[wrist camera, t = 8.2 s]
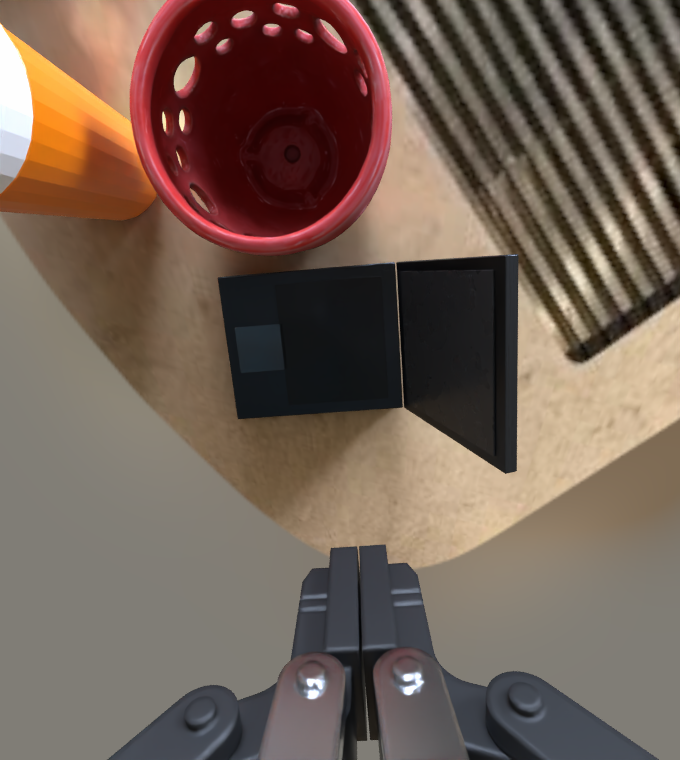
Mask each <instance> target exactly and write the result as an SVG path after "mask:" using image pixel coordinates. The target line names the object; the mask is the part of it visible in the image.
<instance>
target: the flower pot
mask: <svg viewBox="0 0 680 760" xmlns="http://www.w3.org/2000/svg"><path fill="white" fill-rule="evenodd" d="M278 3H282V4H286V5H291V6H294V7H293V8H291V7H286V6H283V5H280V4H278ZM244 10H248V11H252V12H254V13H253V14H252V15H251V16H249V17H246V18H243V19H233V16H234V15H236V14H237V13H238V12H241V11H244ZM320 19H322V20H325V21H326V22H328V23H329V24H330V25H331V26H332V27H333V28H334V29H335V30H336V31H337V33H338V34H339V35H340V37H341V38H342V40H343V42H344V44H342V43H341V42H340V41H338V40H337V39H336V38H335V37H334V36H333V35H332V34H331V33H330V32H329V31H328V30H327V29H326V27H325V26H324V25H323V23H322V22H321V20H320ZM207 22H211V24H210V26H209V27H208V28H207V29H206V30H205V31H204V32H203V33H201V34H199V35H196V36H195V34H196V33H197V31H198V29H200V28H201V27H202V26H203V25H204V24H205V23H207ZM266 24H277V25H279V27H276V28H269V27H266V26H264V25H266ZM299 29H301V30H304V31H306V32H308V33H309V34H311V35H309V34H306V33H304V32H302V31H300V30H299ZM228 38H229V39H228ZM224 39H228V41H227V42H226V43H225V44H223V45H221V46H218V47H216V46H217V44H218V43H219V42H220V41H222V40H224ZM193 56H194V58H195V67H194V70H193V74H192V76H191V78H190V80H189V81H188V83H187V84H186V85H185V87H184V88H183V89H181V90H180V91H178V92H176V91H175V89H174V75H175V72H176V70H177V68H178V66H179V65H180V64H181V63H182V62H183V61H184V60H186V59H188V58H190V57H193ZM181 110H183V112H184V115H185V126H184V130H183V131H181V128H180V126H179V114H180V111H181ZM162 112H164V114H165V117H166V131H164V129H163V123H162ZM130 115H131V124H132V131H133V137H134V141H135V145H136V149H137V153H138V155H139V158H140V161H141V164H142V166H143V168H144V171H145V173H146V175H147V177H148V179H149V181H150V183H151V184H152V186H153V188H154V190H155V191H156V193H157V194H158V196H159V197H160V199H161V200H162V201H163V203H164V204H165V205H166V206H167V207H168V209H169V210H170V211H171V212H172V213H173V214H174V215H175V216H176V217H177V218H178V219H179V220H180V221H181V222H182V223H183V224H184V225H185V226H187V227H188V228H189V229H190V230H192V231H193V232H194V233H196V234H197V235H199V236H201V237H202V238H204V239H206V240H208V241H210V242H212V243H214V244H216V245H219V246H221V247H224V248H227V249H230V250H234V251H237V252H242V253H247V254H254V255H262V256H280V255H288V254H294V253H298V252H301V251H305V250H309V249H312V248H316V247H319V246H321V245H323V244H326V243H328V242H329V241H331V240H333V239H335V238H336V237H338V236H339V235H340V234H342V233H343V232H344V231H345V230H347V229H348V228H349V227H350V226H351V225H352V224H353V223H354V222H355V221H356V220H357V219H358V218H359V216H360V215H361V214H362V213H363V212H364V210H365V209H366V207H367V206H368V204H369V203H370V201H371V199H372V197H373V195H374V194H375V192H376V190H377V188H378V185H379V183H380V181H381V178H382V175H383V173H384V170H385V166H386V163H387V159H388V154H389V150H390V143H391V131H392V104H391V94H390V86H389V80H388V74H387V71H386V67H385V63H384V60H383V57H382V54H381V51H380V49H379V46H378V44H377V42H376V40H375V38H374V35H373V33H372V32H371V30H370V28H369V26H368V25H367V23H366V22H365V21H364V19H363V18H362V16H361V15H360V14H359V12H358V11H357V10H356V8H355V7H354V6H353V5H352V4H351V3H350V2H349V1H348V0H167V1H166V2H165V4H164V5H163V6H162V7H161V8H160V10H159V11H158V13H157V14H156V15H155V17H154V19H153V20H152V22H151V24H150V25H149V27H148V29H147V31H146V33H145V35H144V37H143V39H142V42H141V44H140V47H139V49H138V52H137V56H136V59H135V63H134V67H133V72H132V78H131V85H130ZM176 151H177V152H178V154H179V156H180V160H181V164H182V167H181V166H180V164H179V161H178V157H177V153H176ZM190 188H191V189H192V190H194V191H195V192H196V193H197V194H198V196H199V197H200V198H201V200H202V201H203V202H204V203H205V205H206V207H207V208H208V210H209V212H210V213H209V212H207V211H206V210H204V209H203V208H202V207H201V206H200V205H199V204H198V203H197V202H196V200H195V198H194V197H193V196H192V193H191V191H190Z"/></svg>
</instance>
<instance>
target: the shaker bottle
mask: <svg viewBox="0 0 680 760" xmlns="http://www.w3.org/2000/svg"><path fill="white" fill-rule="evenodd" d="M156 195H157V193H156V191H155V190H154V188H153V186H152V184H151V183H150V181H149V179H148V177H147V175H146V173H145V171H144V168H143V166H142V164H141V161H140V158H139V155H138V153H137V149H136V145H135V141H134V137H133V131H132V124H131V122H130V121H128V120H127V119H126V118H124V117H123V116H122V115H120V114H119V113H118V112H116V111H115V110H114V109H112V108H111V107H110V106H108V105H107V104H106V103H104V102H103V101H102V100H100V99H99V98H98V97H96V96H95V95H94V94H92V93H91V92H90V91H88V90H87V89H86V88H84V87H83V86H82V85H80V84H79V83H78V82H76V81H75V80H74V79H72V78H71V77H69V76H68V75H67V74H65V73H64V72H63V71H61V70H60V69H59V68H57V67H56V66H55V65H53V64H52V63H51V62H49V61H48V60H47V59H45V58H44V57H43V56H41V55H40V54H39V53H37V52H36V51H35V50H33V49H32V48H31V47H29V46H28V45H27V44H25V43H24V42H23V41H21V40H20V39H19V38H17V37H16V36H15V35H13V34H12V33H11V32H9V31H8V30H7V29H5V28H4V27H3V26H2V24H1V23H0V212H13V213H26V214H39V215H53V216H66V217H79V218H92V219H105V220H119V221H120V220H127V219H131V218H134V217H136V216H138V215H140V214H141V213H143V212H144V211H145V210H146V209H147V208H148V207H149V206H150V205H151V204H152V202H153V201H154V199H155V198H156Z"/></svg>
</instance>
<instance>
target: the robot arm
mask: <svg viewBox="0 0 680 760" xmlns="http://www.w3.org/2000/svg"><path fill="white" fill-rule="evenodd" d="M359 554H360V572H359V560H358V549H357V546H356V547H340V548H331V551H330V565H329V568H316V569H312V570H311V571H310V573H309V574H308V575H307V577H306V578H305V579H304V581H303V582H302V590H301V596H300V603H299V609H298V610H299V612H298V615H297V622H296V629H295V636H294V642H293V649H292V655H291V660H290V661H289V662H288V663H287V664H286V665H285V666H284V668H283V669H282V671H281V672H280V675H279V677H278V681H277V683H275V684H274V685H273V686H271V687H270V688H268V689H266V690H265V691H262V692H260V693H258V694H255V695H252V696H249V697H246V698H243V699H241V700H238V701H237V698H236V696H235V695H234V693H232V691H231V690H229V689H227V688H226V687H222V686H218V685H210V686H204V687H200V688H198V689H195V690H193V691H191V692H189V693H187V694H186V695H185V696H183V697H182V698H181V699H179V700H178V701H177V702H176V703H175V704H173V705H172V706H171V707H170V708H169V709H168V710H166V711H165V712H164V713H163V714H161V715H160V716H159V717H158V718H157V719H156V720H154V721H153V722H152V723H151V724H150V725H148V726H147V727H146V728H145V729H144V730H143V731H141V732H140V733H139V734H138V735H136V736H135V737H134V738H133V739H132V740H130V741H129V742H128V743H127V744H126V745H124V746H123V747H122V748H121V749H120V750H119V751H117V752H116V753H115V754H114V755H113V756H111V757H110V758H109V759H108V760H357V741H367V721H366V697H367V708H368V718H369V719H368V720H369V731H370V740H379V753H380V760H659V759H657V758H656V757H654V756H653V755H651V754H650V753H649V752H647V751H646V750H644V749H643V748H641V747H640V746H638V745H637V744H635V743H634V742H633V741H631V740H630V739H628V738H627V737H625V736H624V735H623V734H621V733H620V732H618V731H617V730H615V729H614V728H612V727H611V726H609V725H608V724H607V723H605V722H604V721H602V720H601V719H599V718H598V717H596V716H595V715H594V714H592V713H591V712H589V711H588V710H586V709H585V708H583V707H582V706H580V705H579V704H578V703H576V702H575V701H573V700H572V699H570V698H569V697H567V696H566V695H564V694H563V693H561V692H560V691H559V690H557V689H556V688H554V687H553V686H551V685H550V684H548V683H547V682H545V681H544V680H542V679H541V678H539V677H537V676H534V675H531V674H528V673H524V672H517V671H515V672H514V671H513V672H506V673H502V674H500V675H498V676H496V677H495V678H493V679H492V680H491V682H490V683H489V685H488V687H485V686H481V685H477V684H473V683H469V682H465V681H462V680H460V679H458V678H456V677H454V676H453V675H451V674H450V673H448V672H447V671H446V670H445V669H444V668H443V667H442V666H441V665H440V664H439V662H438V661H437V659H436V657H435V654H434V651H433V646H432V641H431V636H430V632H429V627H428V622H427V618H426V613H425V609H424V605H423V599H422V594H421V589H420V585H419V581H418V576H417V574H416V573H415V572H414V571H413V569H412V568H411V567H410V566H409V565H408V564H407V563H397V564H388V560H387V552H386V545H370V546H359ZM365 686H366V691H365Z"/></svg>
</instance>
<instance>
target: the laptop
mask: <svg viewBox="0 0 680 760" xmlns="http://www.w3.org/2000/svg"><path fill="white" fill-rule="evenodd" d="M218 283H219V290H220V297H221V304H222V311H223V318H224V325H225V332H226V339H227V346H228V353H229V360H230V367H231V374H232V381H233V388H234V395H235V402H236V409H237V416H238V419H247V418H261V417H275V416H289V415H304V414H318V413H332V412H346V411H360V410H375V409H389V408H402V407H403V404H402V385H401V367H400V348H399V329H398V311H397V292H396V273H395V263H394V262H389V263H378V264H366V265H354V266H342V267H331V268H319V269H307V270H296V271H284V272H272V273H261V274H249V275H237V276H226V277H218Z"/></svg>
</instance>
